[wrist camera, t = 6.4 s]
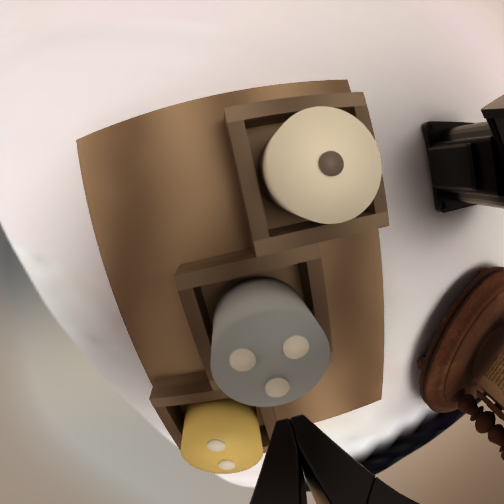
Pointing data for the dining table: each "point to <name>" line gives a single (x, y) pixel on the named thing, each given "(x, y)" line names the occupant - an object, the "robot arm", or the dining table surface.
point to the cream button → (321, 166)
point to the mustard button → (221, 436)
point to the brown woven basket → (470, 356)
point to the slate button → (266, 344)
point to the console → (230, 245)
